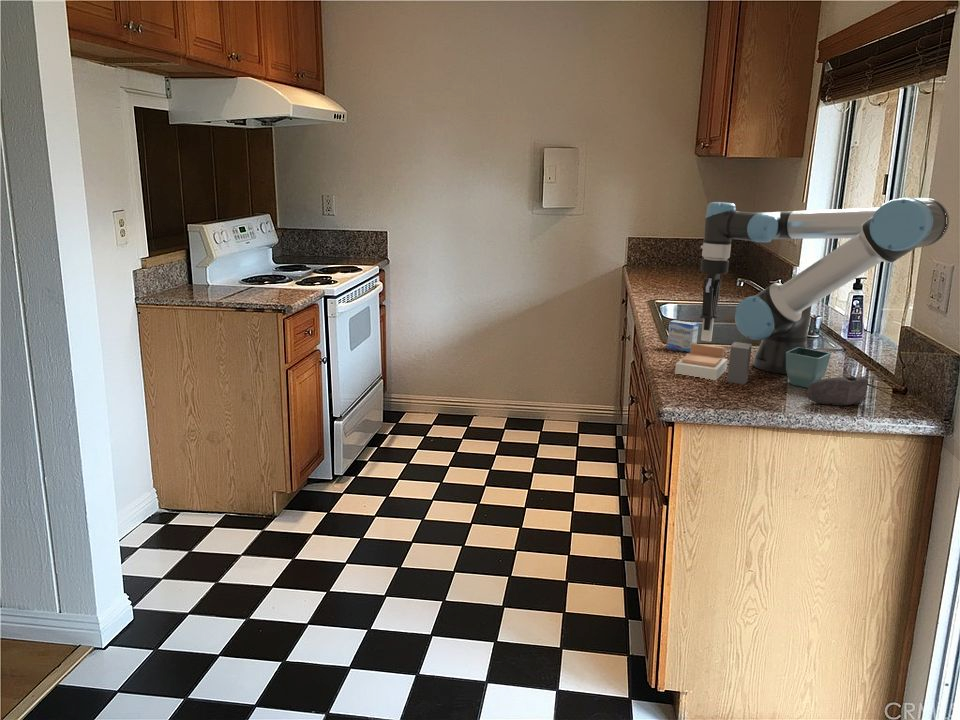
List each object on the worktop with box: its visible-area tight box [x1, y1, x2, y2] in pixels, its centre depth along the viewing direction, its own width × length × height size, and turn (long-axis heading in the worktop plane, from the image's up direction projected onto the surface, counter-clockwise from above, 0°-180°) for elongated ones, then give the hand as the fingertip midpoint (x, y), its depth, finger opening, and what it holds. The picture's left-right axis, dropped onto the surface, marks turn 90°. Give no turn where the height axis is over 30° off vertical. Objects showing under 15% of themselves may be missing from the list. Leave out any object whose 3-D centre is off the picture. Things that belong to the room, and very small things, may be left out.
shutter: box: [681, 343, 726, 367], centre depth 221 cm, size 9×10×3 cm
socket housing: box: [674, 353, 729, 381], centre depth 221 cm, size 11×14×3 cm
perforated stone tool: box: [806, 376, 869, 406], centre depth 195 cm, size 15×5×7 cm, turn 88°
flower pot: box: [786, 347, 832, 389], centre depth 211 cm, size 9×9×9 cm
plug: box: [726, 341, 752, 385], centre depth 212 cm, size 4×4×10 cm
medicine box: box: [666, 319, 700, 353], centre depth 247 cm, size 8×4×9 cm, turn 55°
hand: (706, 340), depth 230 cm, fingers closed
